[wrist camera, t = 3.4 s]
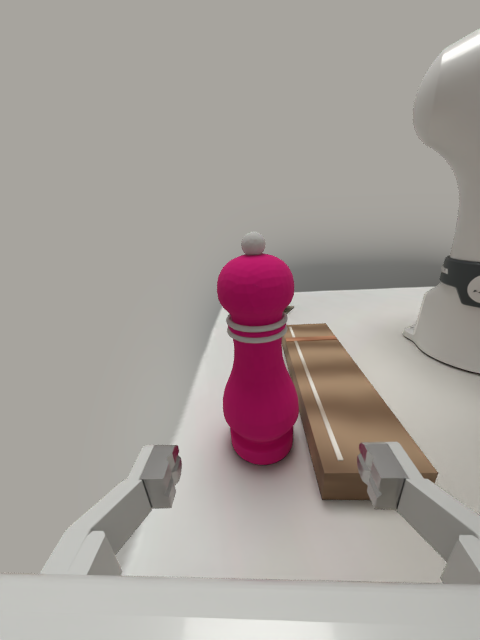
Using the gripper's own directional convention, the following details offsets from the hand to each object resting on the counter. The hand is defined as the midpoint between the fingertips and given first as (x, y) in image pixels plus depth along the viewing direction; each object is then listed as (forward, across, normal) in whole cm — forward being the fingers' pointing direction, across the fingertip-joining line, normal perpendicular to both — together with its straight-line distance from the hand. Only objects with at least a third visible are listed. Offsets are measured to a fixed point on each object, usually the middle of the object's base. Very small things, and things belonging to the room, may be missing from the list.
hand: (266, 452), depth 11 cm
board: (+19, -8, +11) cm, 23 cm away
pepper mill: (+10, 0, +11) cm, 15 cm away
